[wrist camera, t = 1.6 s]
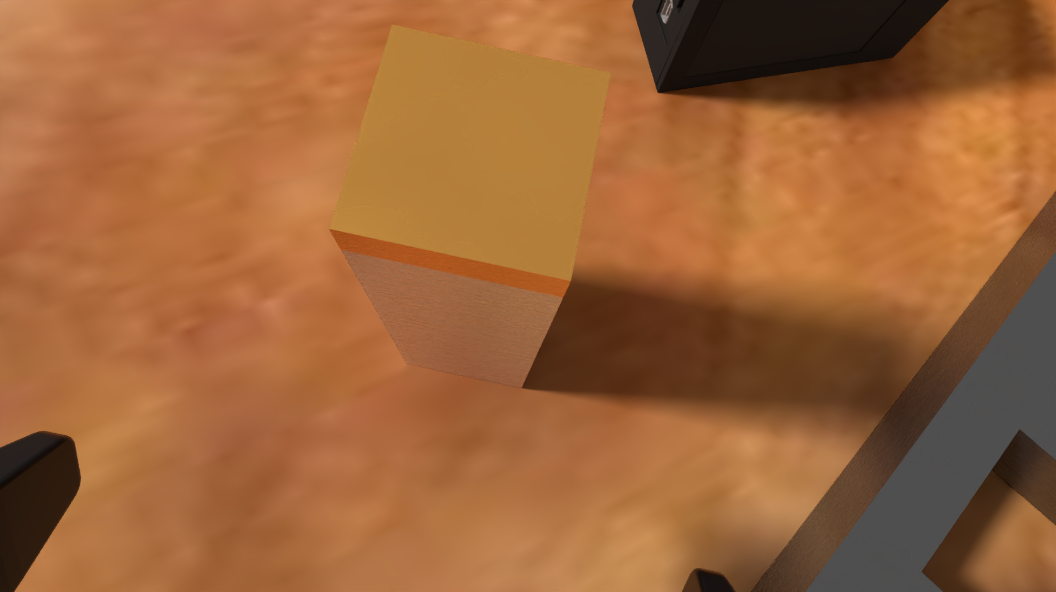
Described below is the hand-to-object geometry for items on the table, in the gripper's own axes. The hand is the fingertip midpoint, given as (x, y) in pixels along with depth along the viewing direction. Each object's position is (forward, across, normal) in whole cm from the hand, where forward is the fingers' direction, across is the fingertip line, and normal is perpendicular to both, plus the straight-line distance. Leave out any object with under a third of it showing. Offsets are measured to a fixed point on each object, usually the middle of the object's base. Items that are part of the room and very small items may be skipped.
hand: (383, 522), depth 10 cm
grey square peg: (+13, 0, +5) cm, 14 cm away
